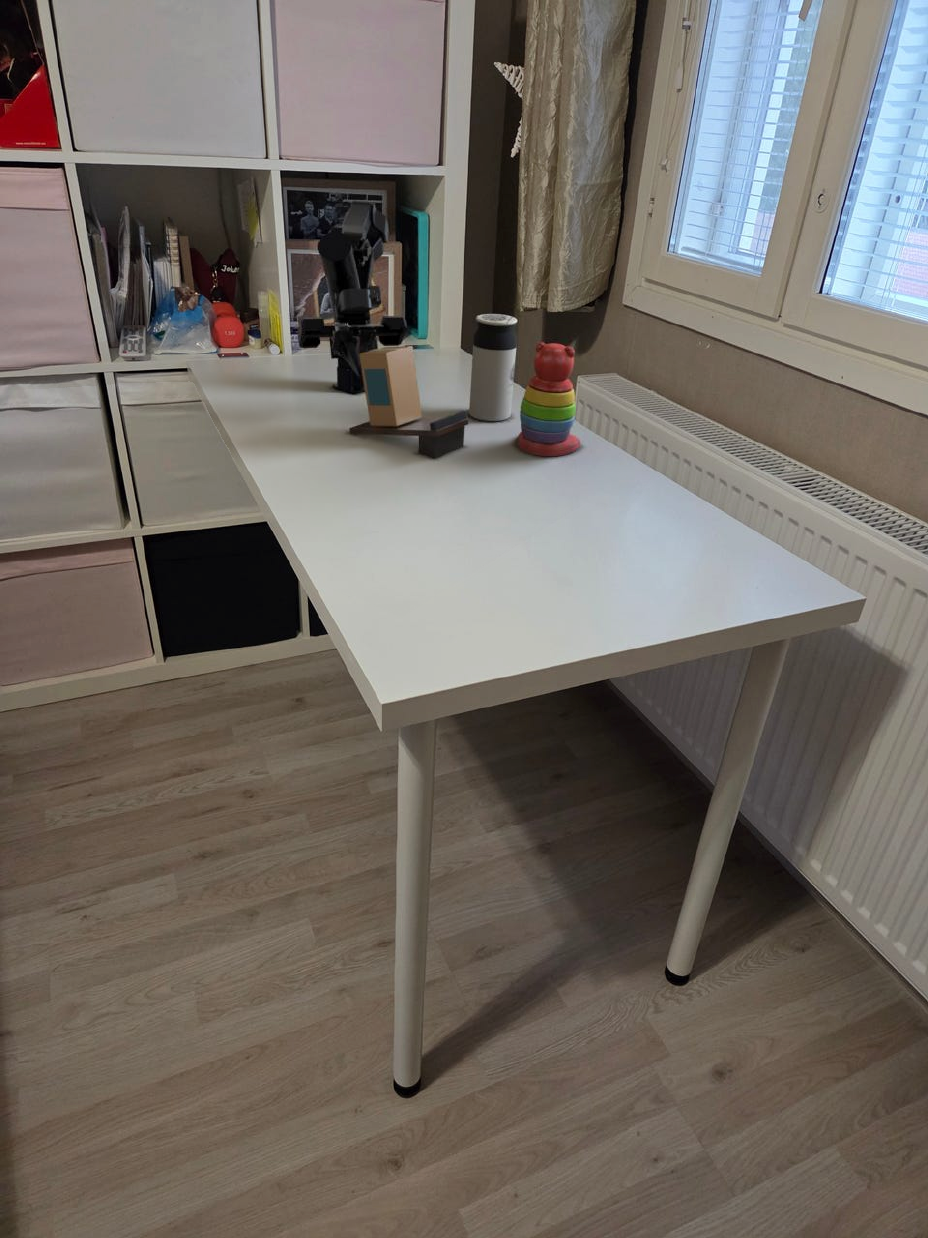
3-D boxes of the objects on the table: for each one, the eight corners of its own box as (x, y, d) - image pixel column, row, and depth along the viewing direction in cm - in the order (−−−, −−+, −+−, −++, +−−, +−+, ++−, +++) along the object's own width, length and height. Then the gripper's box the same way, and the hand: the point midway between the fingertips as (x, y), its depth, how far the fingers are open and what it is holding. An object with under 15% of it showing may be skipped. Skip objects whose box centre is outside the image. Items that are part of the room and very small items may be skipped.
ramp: (349, 433, 149) (348, 398, 146) (382, 421, 155) (382, 388, 152) (436, 460, 140) (437, 424, 137) (467, 446, 146) (469, 412, 143)
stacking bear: (582, 444, 151) (596, 342, 142) (564, 461, 143) (577, 354, 134) (526, 433, 154) (536, 332, 145) (505, 449, 146) (514, 344, 137)
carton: (359, 422, 148) (358, 345, 141) (385, 413, 153) (385, 339, 146) (396, 433, 144) (397, 355, 137) (421, 423, 149) (424, 348, 142)
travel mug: (462, 417, 160) (468, 318, 151) (477, 406, 167) (484, 311, 157) (502, 424, 158) (510, 324, 149) (515, 413, 164) (524, 317, 155)
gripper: (297, 267, 141) (312, 351, 138) (405, 267, 147) (422, 348, 144) (291, 306, 151) (305, 386, 148) (392, 305, 157) (408, 381, 154)
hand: (360, 374), depth 148 cm, fingers closed
